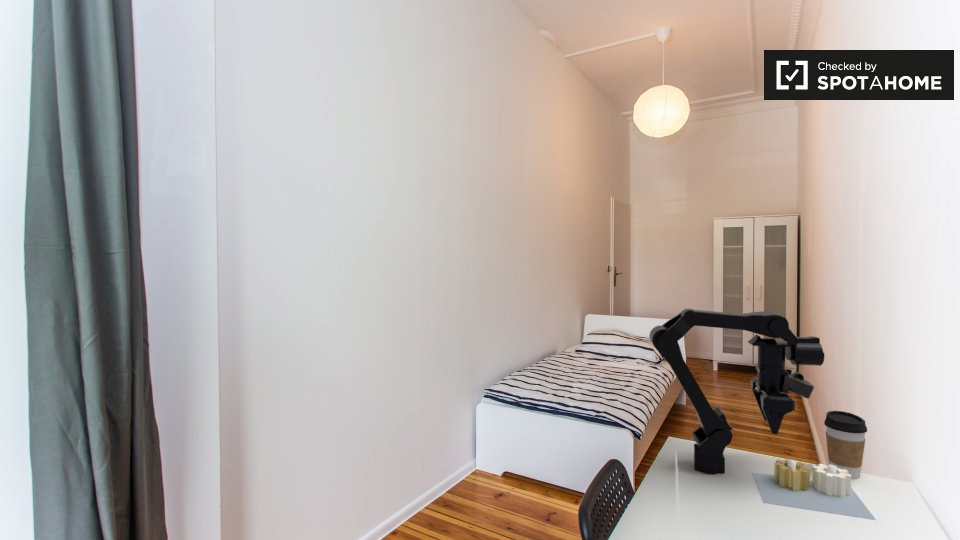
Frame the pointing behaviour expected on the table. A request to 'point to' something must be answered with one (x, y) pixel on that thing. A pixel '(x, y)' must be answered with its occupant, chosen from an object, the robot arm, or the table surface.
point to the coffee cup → (845, 441)
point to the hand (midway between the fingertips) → (770, 427)
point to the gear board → (810, 497)
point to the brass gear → (792, 475)
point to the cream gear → (832, 481)
